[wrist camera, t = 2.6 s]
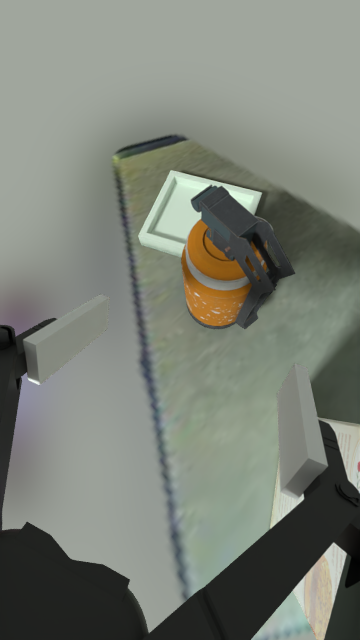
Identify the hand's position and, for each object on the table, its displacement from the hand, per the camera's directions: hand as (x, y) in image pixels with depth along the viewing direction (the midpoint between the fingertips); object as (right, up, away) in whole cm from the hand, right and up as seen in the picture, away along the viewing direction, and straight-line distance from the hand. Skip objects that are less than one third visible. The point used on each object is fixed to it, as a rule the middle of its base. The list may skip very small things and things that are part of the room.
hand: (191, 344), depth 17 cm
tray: (+3, +18, +26) cm, 31 cm away
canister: (+5, +4, +21) cm, 22 cm away
